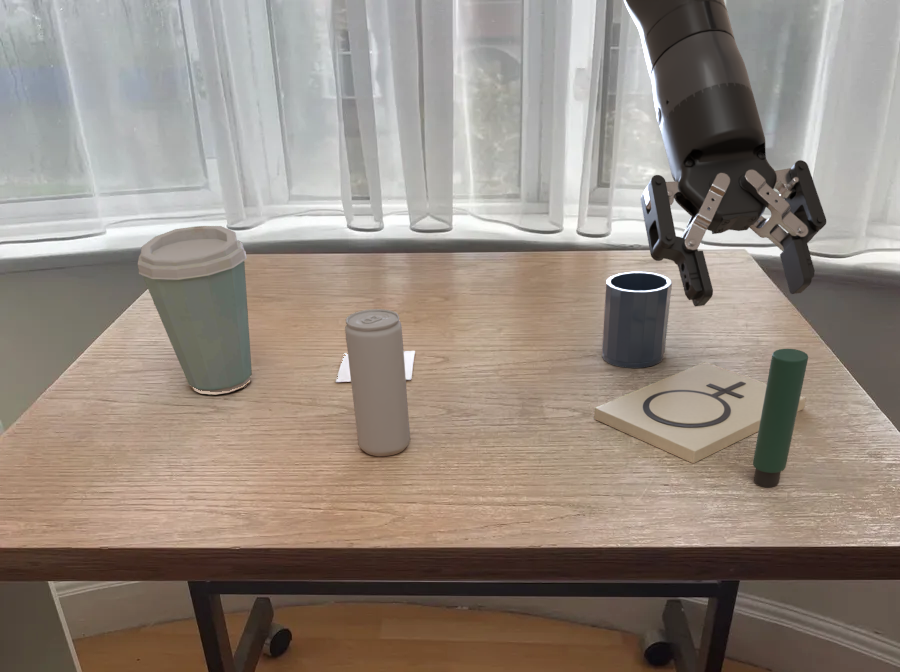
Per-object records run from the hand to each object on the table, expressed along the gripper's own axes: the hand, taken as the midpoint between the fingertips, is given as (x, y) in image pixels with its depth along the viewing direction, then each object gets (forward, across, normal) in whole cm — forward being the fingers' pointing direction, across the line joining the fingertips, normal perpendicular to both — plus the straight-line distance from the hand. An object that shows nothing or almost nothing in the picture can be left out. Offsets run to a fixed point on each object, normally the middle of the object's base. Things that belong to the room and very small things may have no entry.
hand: (753, 295), depth 72 cm
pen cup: (-6, 0, +25) cm, 26 cm away
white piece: (-11, -27, +30) cm, 42 cm away
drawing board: (+5, 0, +14) cm, 15 cm away
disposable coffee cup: (-12, -44, +31) cm, 55 cm away
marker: (+14, 0, +5) cm, 15 cm away
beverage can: (+3, -29, +17) cm, 34 cm away
